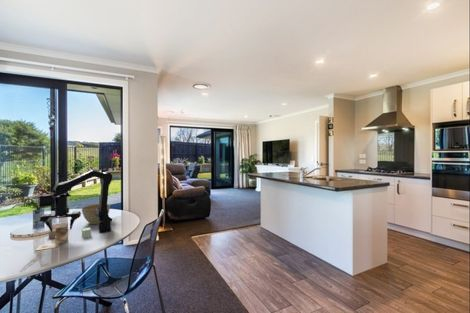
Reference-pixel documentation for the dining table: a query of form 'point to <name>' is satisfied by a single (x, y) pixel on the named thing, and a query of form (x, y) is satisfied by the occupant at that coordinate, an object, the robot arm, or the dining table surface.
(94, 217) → the tan bowl
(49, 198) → the robot arm
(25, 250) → the dining table surface
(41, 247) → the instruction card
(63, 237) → the oak block
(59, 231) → the walnut block
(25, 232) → the dining table surface
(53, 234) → the brown rock
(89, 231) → the block
